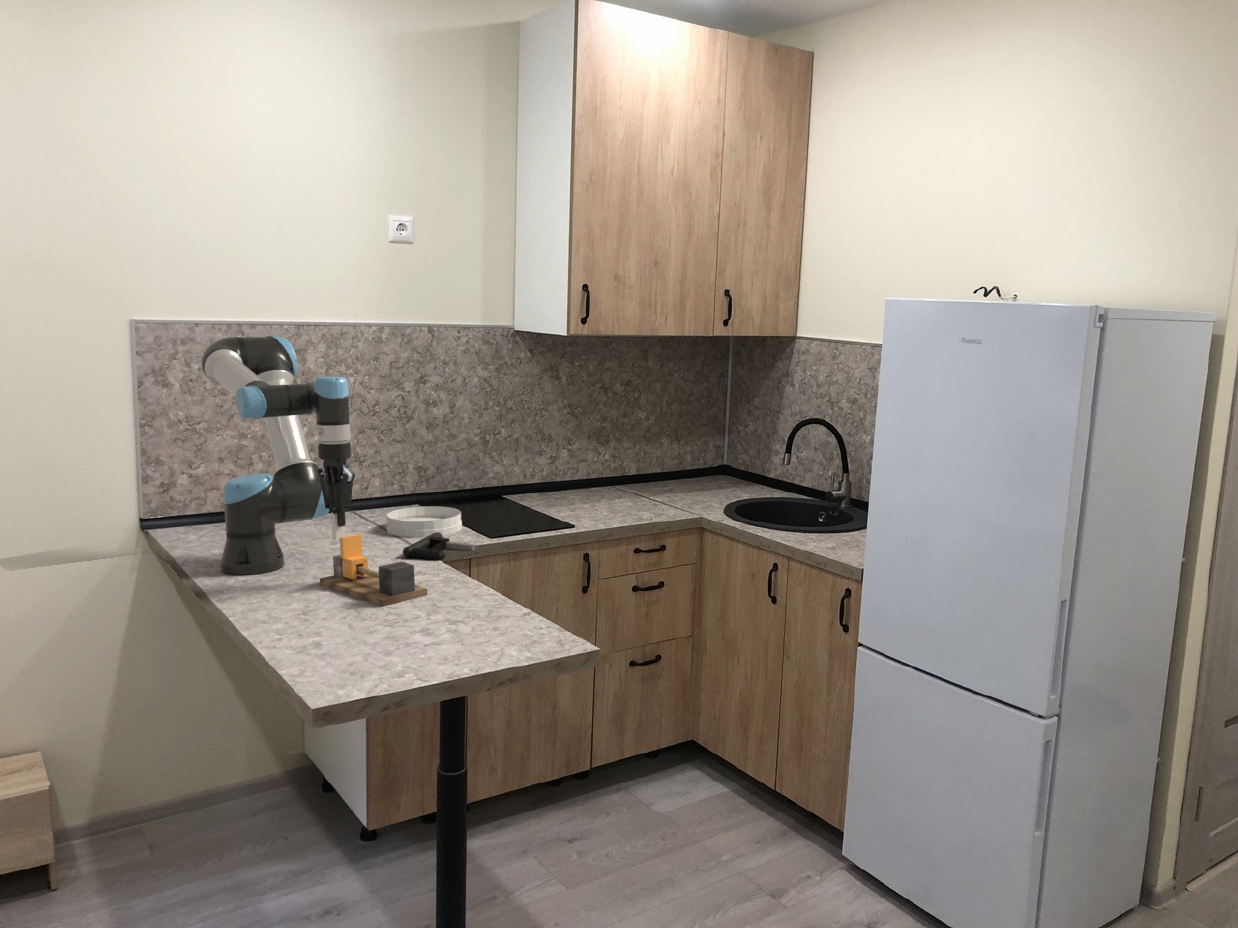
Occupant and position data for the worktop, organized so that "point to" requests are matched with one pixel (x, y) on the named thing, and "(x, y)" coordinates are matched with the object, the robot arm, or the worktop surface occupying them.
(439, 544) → the door handle
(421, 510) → the dish
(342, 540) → the orange sliding rod block
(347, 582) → the rail
